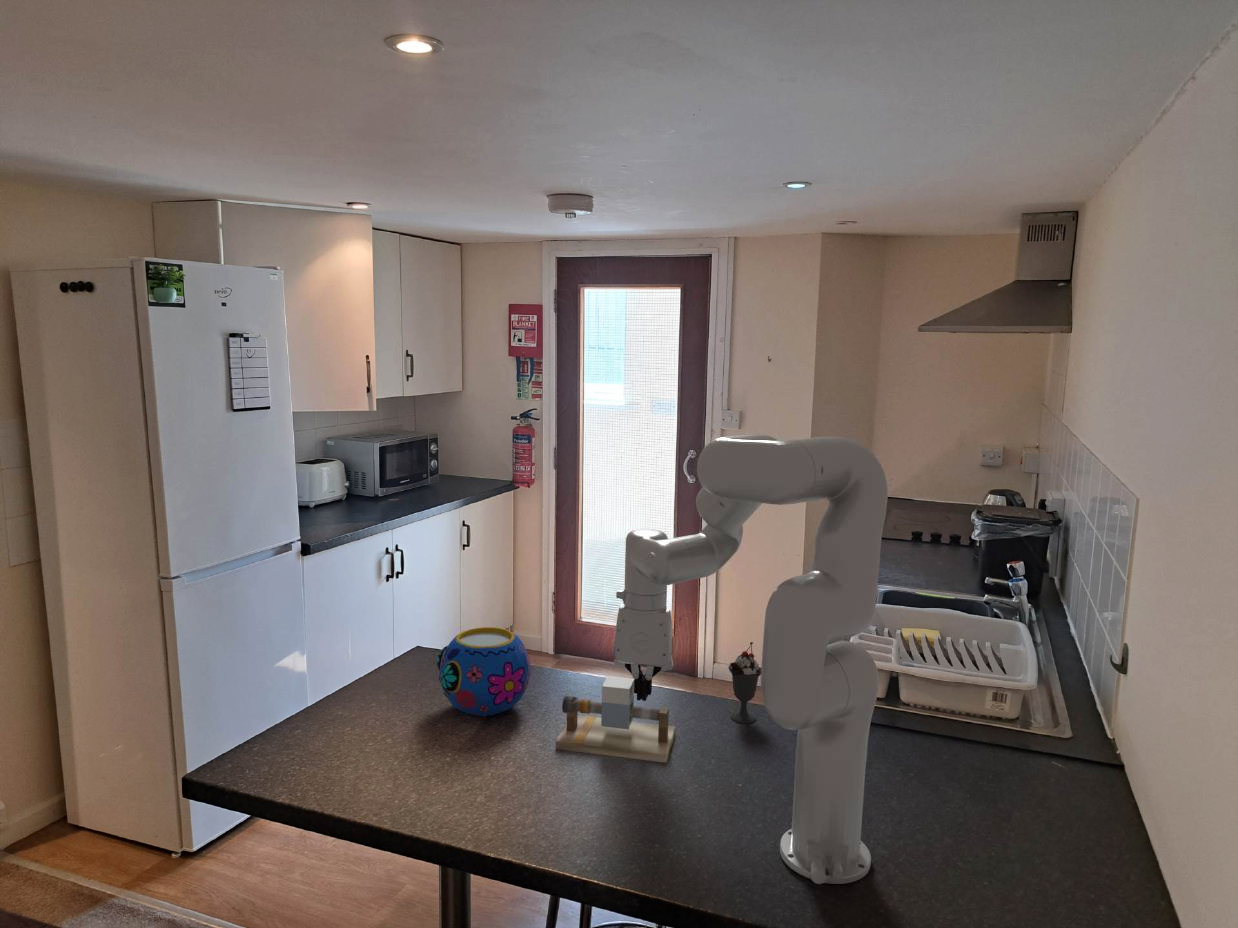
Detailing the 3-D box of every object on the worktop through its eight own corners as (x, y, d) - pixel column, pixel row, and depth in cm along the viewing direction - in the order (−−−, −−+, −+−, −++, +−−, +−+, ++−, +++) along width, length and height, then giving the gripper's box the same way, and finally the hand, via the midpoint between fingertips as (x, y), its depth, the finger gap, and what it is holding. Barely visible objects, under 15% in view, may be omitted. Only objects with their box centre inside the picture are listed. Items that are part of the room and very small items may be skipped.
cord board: (666, 762, 142) (667, 721, 141) (555, 748, 146) (556, 709, 145) (675, 733, 153) (676, 695, 152) (571, 721, 157) (572, 684, 156)
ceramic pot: (435, 696, 167) (434, 625, 165) (521, 686, 173) (521, 618, 171) (443, 734, 151) (442, 656, 149) (538, 723, 156) (539, 648, 154)
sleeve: (628, 729, 146) (629, 688, 145) (601, 726, 148) (602, 685, 146) (633, 718, 151) (634, 678, 150) (606, 715, 152) (607, 676, 151)
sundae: (759, 711, 163) (762, 639, 161) (761, 726, 157) (765, 651, 155) (725, 709, 164) (728, 637, 162) (726, 724, 157) (729, 649, 155)
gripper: (599, 602, 143) (597, 701, 146) (684, 609, 140) (680, 711, 142) (609, 589, 150) (607, 684, 153) (690, 596, 147) (686, 693, 150)
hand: (642, 697), depth 148 cm, fingers closed
